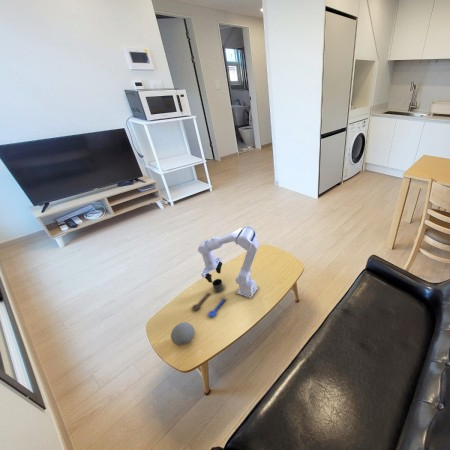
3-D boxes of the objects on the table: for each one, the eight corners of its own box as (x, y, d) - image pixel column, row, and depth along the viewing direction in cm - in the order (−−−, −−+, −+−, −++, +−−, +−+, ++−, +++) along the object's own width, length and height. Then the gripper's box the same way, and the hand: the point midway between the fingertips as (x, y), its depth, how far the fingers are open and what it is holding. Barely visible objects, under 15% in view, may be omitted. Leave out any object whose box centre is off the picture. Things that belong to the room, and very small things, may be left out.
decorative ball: (174, 353, 110) (167, 341, 104) (174, 334, 118) (168, 322, 112) (197, 344, 113) (191, 332, 108) (195, 327, 121) (190, 315, 115)
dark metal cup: (225, 286, 143) (223, 280, 140) (219, 293, 139) (218, 287, 136) (218, 284, 145) (216, 277, 141) (212, 290, 140) (210, 284, 137)
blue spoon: (221, 299, 135) (221, 298, 135) (226, 300, 134) (226, 300, 134) (207, 316, 126) (207, 315, 126) (213, 318, 125) (212, 317, 125)
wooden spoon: (206, 293, 139) (205, 292, 138) (211, 295, 138) (210, 294, 137) (191, 309, 130) (190, 308, 129) (196, 311, 128) (196, 310, 128)
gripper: (212, 250, 137) (217, 267, 145) (194, 266, 126) (200, 284, 134) (222, 253, 135) (226, 270, 143) (204, 270, 124) (210, 287, 131)
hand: (214, 277), depth 138 cm, fingers open, 7 cm apart
